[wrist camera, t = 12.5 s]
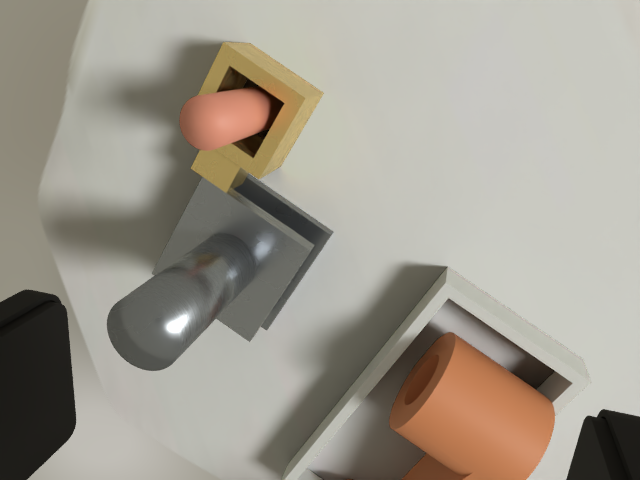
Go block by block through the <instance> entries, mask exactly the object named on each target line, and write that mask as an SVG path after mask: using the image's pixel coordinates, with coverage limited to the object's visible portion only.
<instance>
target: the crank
mask: <svg viewBox="0 0 640 480" xmlns="http://www.w3.org/2000/svg"><path fill="white" fill-rule="evenodd" d="M554 422H555V411H554V406H553V404H552V402H551V400H550V399H549V398H547V397H546V396H544V395H543V394H541V393H540V392H539V391H537V390H536V389H534V388H533V387H531V386H530V385H528V384H527V383H525V382H524V381H523V380H521V379H520V378H518V377H517V376H515V375H514V374H512V373H511V372H509V371H508V370H506V369H505V368H504V367H502V366H501V365H499V364H498V363H496V362H495V361H493V360H492V359H490V358H489V357H488V356H486V355H485V354H483V353H482V352H480V351H479V350H477V349H476V348H474V347H473V346H472V345H470V344H469V343H467V342H466V341H464V340H463V339H461V338H460V337H458V336H457V335H455V334H454V333H452V332H449V333H446V334H444V335H443V336H441V337H440V338H439V339H437V340H436V341H435V342H434V344H433V345H432V346H431V347H430V348H429V349H428V351H427V352H426V353H425V354H424V355H423V356H422V358H421V359H420V360H419V361H418V362H417V363H416V365H415V366H414V367H413V369H412V370H411V372H410V374H409V375H408V377H407V378H406V380H405V382H404V384H403V385H402V387H401V389H400V391H399V393H398V395H397V397H396V399H395V402H394V404H393V407H392V410H391V413H390V418H389V425H390V428H391V429H393V430H394V431H396V432H397V433H398V434H400V435H401V436H403V437H404V438H406V439H407V440H409V441H410V442H411V443H413V444H414V445H416V446H417V447H419V448H420V449H421V450H423V451H424V452H426V454H425V456H424V457H423V458H422V459H421V460H420V461H419V462H418V463H417V464H416V465H415V466H414V467H413V468H412V469H411V470H410V471H409V472H408V473H407V474H406V475H405V476H404V477H403V478H402V479H401V480H526V479H527V478H528V477H529V476H530V474H531V473H532V472H533V471H534V469H535V468H536V466H537V465H538V463H539V462H540V460H541V459H542V457H543V455H544V453H545V451H546V449H547V447H548V444H549V442H550V439H551V436H552V432H553V428H554ZM346 480H352V479H346Z"/></svg>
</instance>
